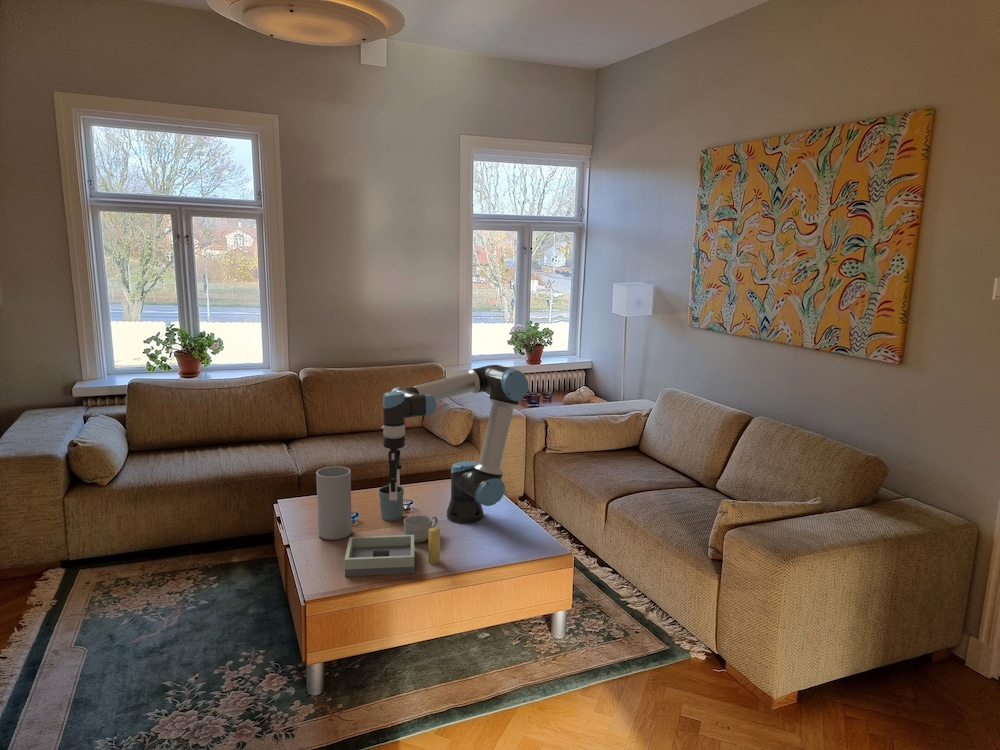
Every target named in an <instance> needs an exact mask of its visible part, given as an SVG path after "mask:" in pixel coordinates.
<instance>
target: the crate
mask: <svg viewBox="0 0 1000 750" xmlns="http://www.w3.org/2000/svg"><path fill="white" fill-rule="evenodd" d="M347 542H348V543H347V547H346V551H345V556H344V577H360V576H361V577H363V576H386V575H387V576H389V575H407V574H411V573H412V574H415V542H414V535H405V534H400V535H399V534H396V535H394V534H393V535H374V536H372V535H368V536H367V535H366V536H350V537H349V536H348V541H347Z"/></svg>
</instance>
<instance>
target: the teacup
mask: <svg viewBox="0 0 1000 750" xmlns="http://www.w3.org/2000/svg"><path fill="white" fill-rule="evenodd" d="M433 520H434V522H433ZM438 522H439V519H438V517H437V516H436V515H432V516H428V515H423V514H422V515H421V514H416V515H411V516H408V517H406V518H404V520H403V530H404V535H414V543H422V542H427V541H428V540H429V529H430V528H433V527H436V526H437V524H438Z"/></svg>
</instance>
